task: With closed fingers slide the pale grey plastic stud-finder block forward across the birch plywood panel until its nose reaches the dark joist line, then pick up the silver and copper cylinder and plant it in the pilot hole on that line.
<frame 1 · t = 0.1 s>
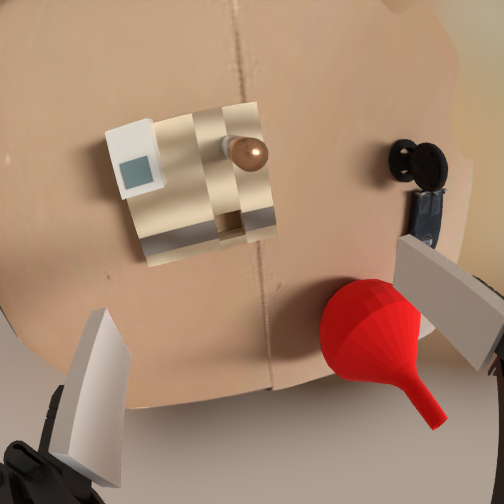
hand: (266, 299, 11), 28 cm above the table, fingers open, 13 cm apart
webcam: (403, 160, 41), on the table
silver and copper cylinder: (230, 146, 32), point 3 cm above the table, touching panel
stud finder: (139, 156, 30), point 3 cm above the table, touching panel
panel: (196, 182, 36), on the table
electronic device: (419, 223, 47), on the table
vase: (348, 304, 51), on the table
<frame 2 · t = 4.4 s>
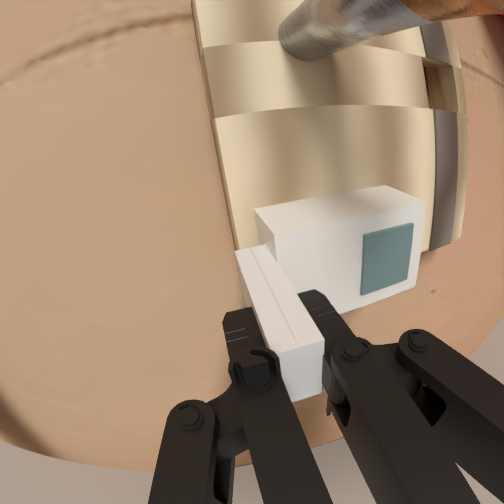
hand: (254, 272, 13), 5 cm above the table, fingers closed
silver and copper cylinder: (305, 37, 10), point 3 cm above the table, touching panel
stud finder: (329, 237, 15), point 3 cm above the table, touching gripper, panel
panel: (354, 123, 16), on the table
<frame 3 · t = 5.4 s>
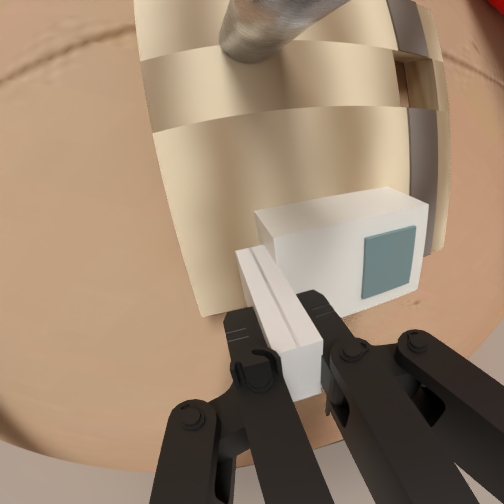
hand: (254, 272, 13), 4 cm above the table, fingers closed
silver and copper cylinder: (249, 38, 10), point 3 cm above the table, touching panel
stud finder: (330, 239, 15), point 3 cm above the table, touching gripper, panel
panel: (317, 127, 15), on the table
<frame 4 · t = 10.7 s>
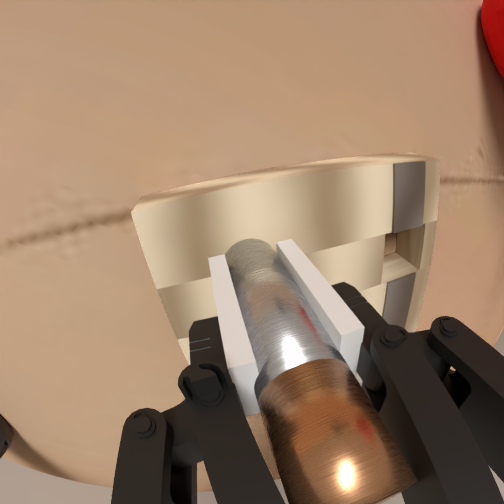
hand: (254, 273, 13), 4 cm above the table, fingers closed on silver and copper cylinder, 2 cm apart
silver and copper cylinder: (249, 264, 14), point 3 cm above the table, touching gripper
panel: (307, 292, 20), on the table
vase: (500, 46, 13), on the table
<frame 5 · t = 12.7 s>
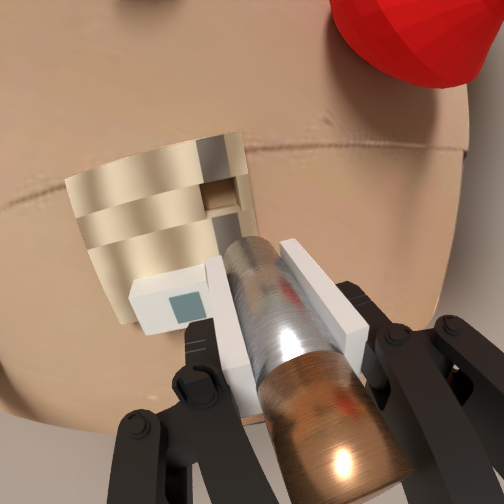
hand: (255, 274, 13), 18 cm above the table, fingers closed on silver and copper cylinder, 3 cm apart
silver and copper cylinder: (249, 261, 14), point 17 cm above the table, touching gripper
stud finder: (174, 291, 30), point 3 cm above the table, touching panel
panel: (170, 229, 30), on the table
vase: (369, 26, 23), on the table
when the fingers open (5 cm above the table, at t = 15.1 s): silver and copper cylinder drops 4 cm, resting in panel.
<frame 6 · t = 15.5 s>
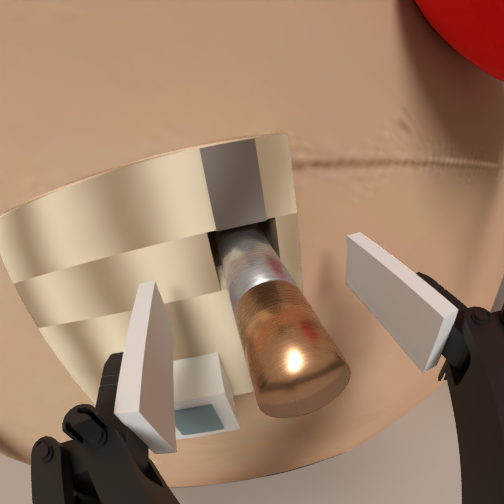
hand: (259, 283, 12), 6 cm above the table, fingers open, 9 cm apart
silver and copper cylinder: (237, 235, 18), resting in panel
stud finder: (173, 384, 18), point 3 cm above the table, touching panel
panel: (160, 294, 18), on the table
vase: (442, 3, 12), on the table
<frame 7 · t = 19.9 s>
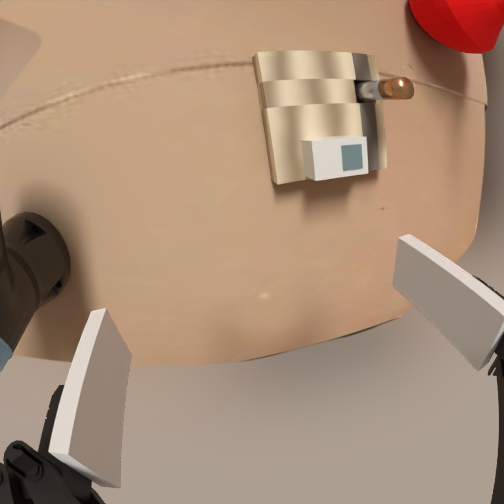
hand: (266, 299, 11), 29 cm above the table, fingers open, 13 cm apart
silver and copper cylinder: (354, 92, 35), resting in panel
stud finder: (329, 154, 35), point 3 cm above the table, touching panel
panel: (322, 112, 36), on the table
vase: (426, 15, 29), on the table
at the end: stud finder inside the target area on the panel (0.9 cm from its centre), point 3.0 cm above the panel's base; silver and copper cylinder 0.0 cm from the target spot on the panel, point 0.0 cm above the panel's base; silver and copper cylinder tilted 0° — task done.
